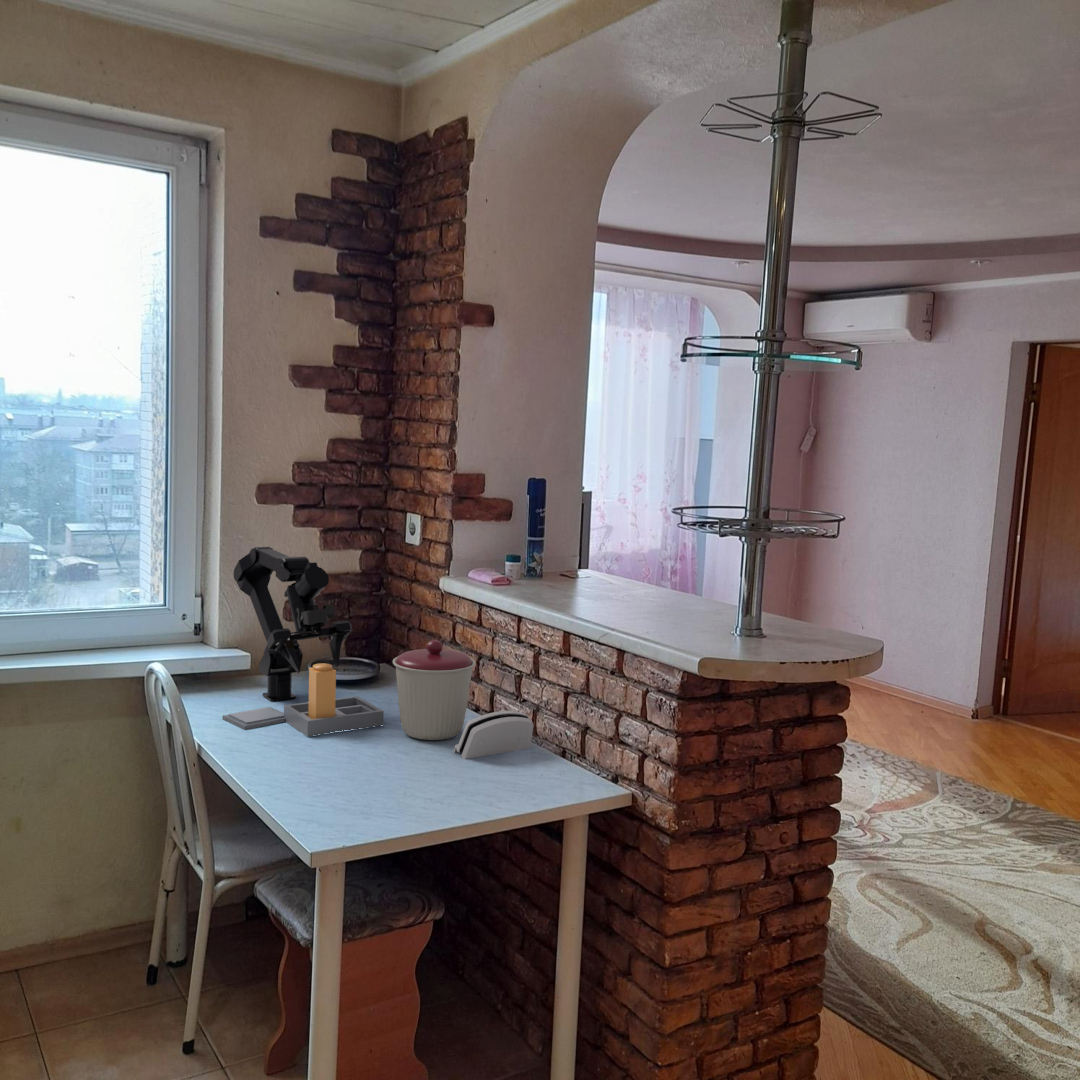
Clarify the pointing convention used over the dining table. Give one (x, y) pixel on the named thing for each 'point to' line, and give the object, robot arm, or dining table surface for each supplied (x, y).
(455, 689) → the canister
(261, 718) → the lid
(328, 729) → the tray
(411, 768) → the dining table surface
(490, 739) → the napkin holder
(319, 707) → the post
